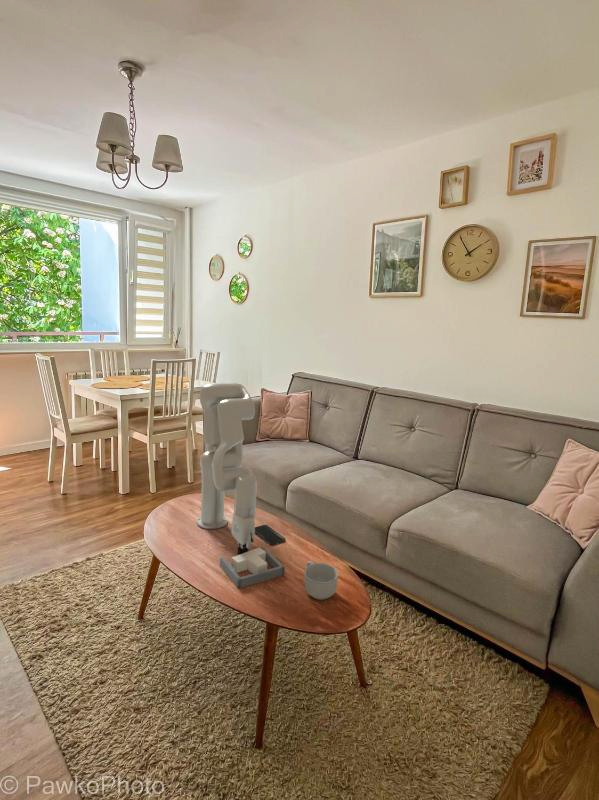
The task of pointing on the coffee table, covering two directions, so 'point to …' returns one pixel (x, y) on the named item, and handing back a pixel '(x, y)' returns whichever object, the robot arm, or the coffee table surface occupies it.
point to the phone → (268, 535)
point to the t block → (250, 561)
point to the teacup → (320, 580)
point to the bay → (256, 577)
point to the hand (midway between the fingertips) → (242, 556)
